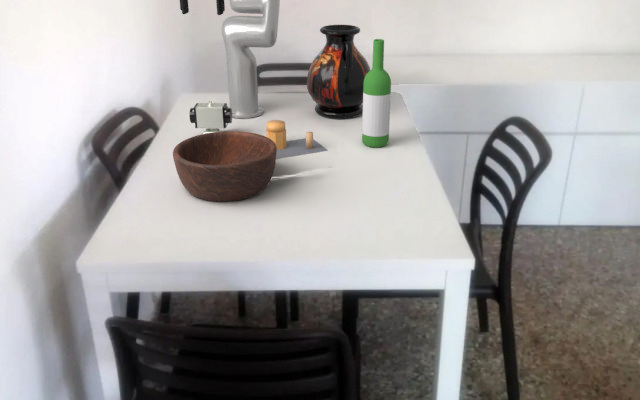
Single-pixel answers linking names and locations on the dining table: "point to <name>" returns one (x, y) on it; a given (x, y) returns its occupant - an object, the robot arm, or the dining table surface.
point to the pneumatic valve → (211, 116)
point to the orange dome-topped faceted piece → (277, 133)
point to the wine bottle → (376, 101)
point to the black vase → (338, 74)
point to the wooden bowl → (225, 164)
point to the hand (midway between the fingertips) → (202, 13)
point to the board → (300, 147)
